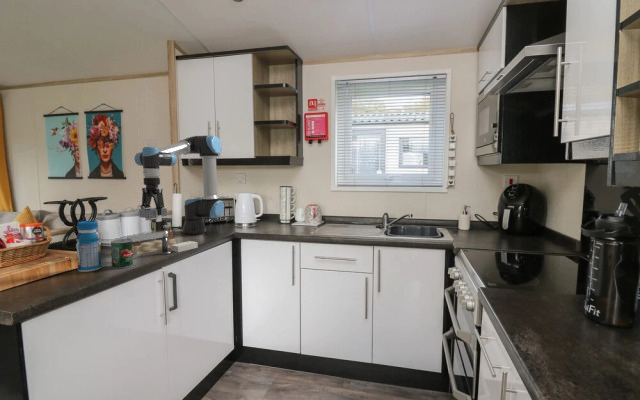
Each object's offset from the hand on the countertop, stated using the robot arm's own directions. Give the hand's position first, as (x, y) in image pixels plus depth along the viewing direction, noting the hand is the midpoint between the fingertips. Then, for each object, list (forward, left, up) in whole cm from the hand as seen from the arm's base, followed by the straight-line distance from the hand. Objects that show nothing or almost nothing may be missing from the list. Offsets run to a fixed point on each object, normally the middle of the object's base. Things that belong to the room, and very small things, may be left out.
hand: (153, 220), depth 169 cm
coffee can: (-12, -11, -16) cm, 22 cm away
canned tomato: (+25, +16, -16) cm, 34 cm away
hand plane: (0, 0, -15) cm, 15 cm away
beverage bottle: (+35, +10, -16) cm, 40 cm away
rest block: (-9, +13, -15) cm, 22 cm away
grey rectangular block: (0, 0, +2) cm, 2 cm away
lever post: (+2, +12, -15) cm, 20 cm away
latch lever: (+10, +11, -7) cm, 16 cm away
